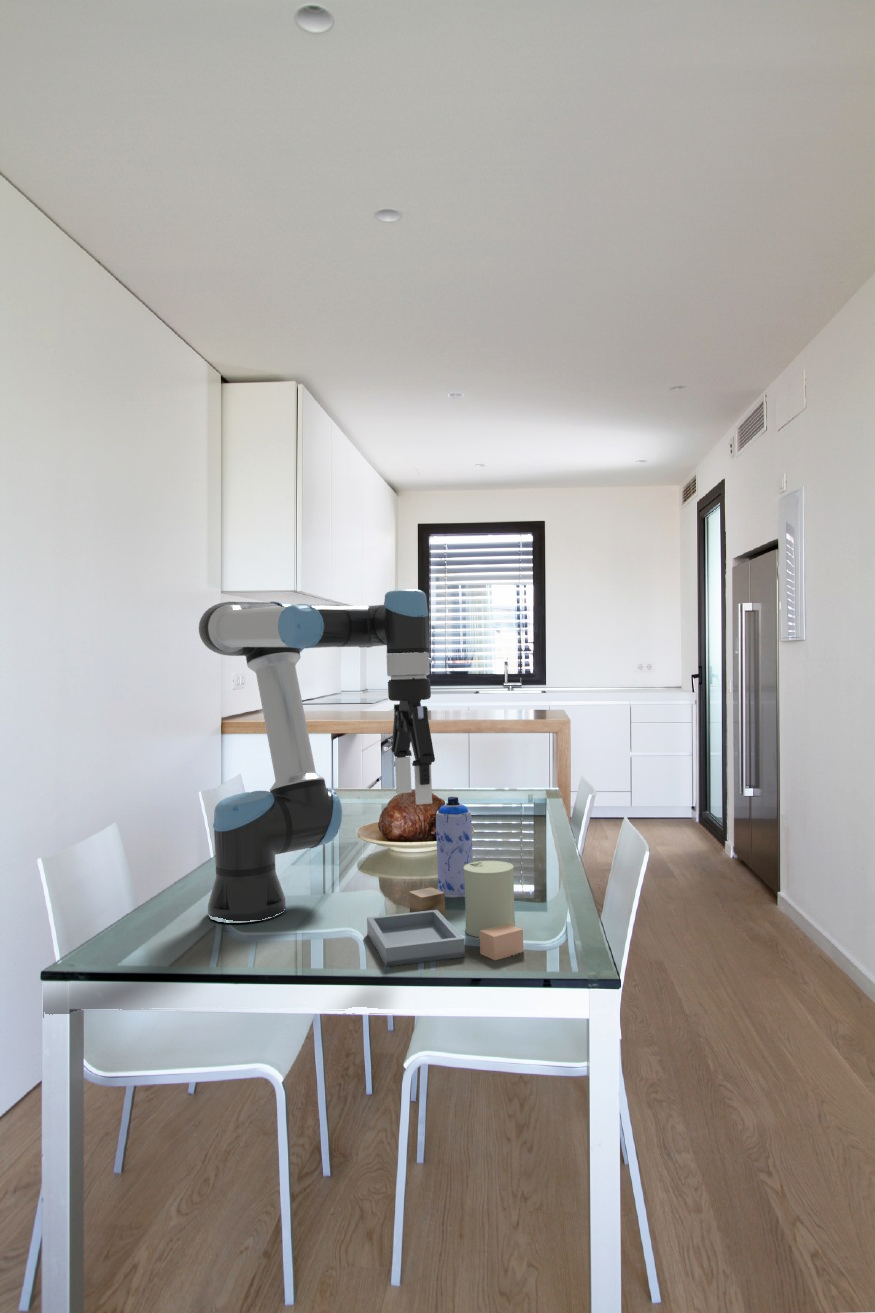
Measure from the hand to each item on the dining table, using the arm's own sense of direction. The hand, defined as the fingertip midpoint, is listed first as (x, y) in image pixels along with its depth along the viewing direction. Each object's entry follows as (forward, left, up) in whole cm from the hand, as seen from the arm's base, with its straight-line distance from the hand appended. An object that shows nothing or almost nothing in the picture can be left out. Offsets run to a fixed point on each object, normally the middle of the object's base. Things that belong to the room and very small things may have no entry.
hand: (413, 798), depth 151 cm
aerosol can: (+15, +27, -25) cm, 39 cm away
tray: (-1, -2, -25) cm, 25 cm away
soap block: (+12, -11, -25) cm, 30 cm away
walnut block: (+5, +12, -25) cm, 28 cm away
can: (+14, +1, -25) cm, 29 cm away
